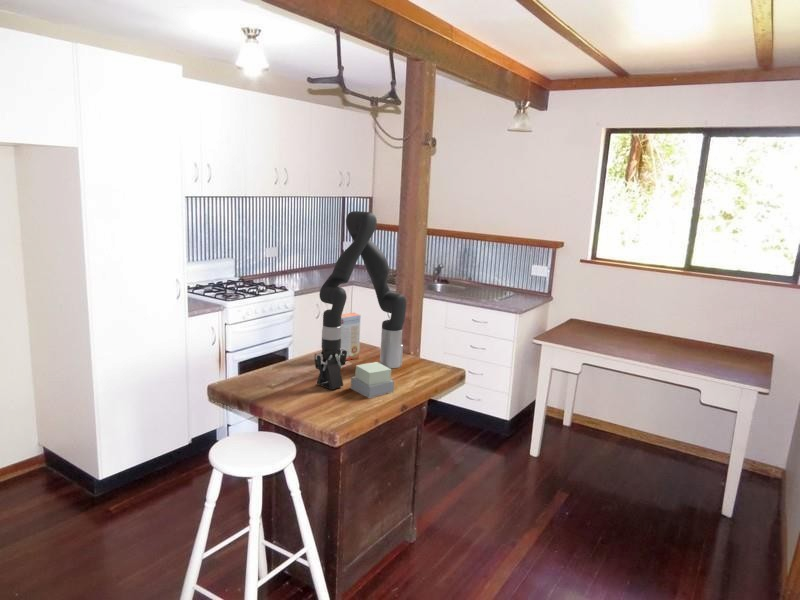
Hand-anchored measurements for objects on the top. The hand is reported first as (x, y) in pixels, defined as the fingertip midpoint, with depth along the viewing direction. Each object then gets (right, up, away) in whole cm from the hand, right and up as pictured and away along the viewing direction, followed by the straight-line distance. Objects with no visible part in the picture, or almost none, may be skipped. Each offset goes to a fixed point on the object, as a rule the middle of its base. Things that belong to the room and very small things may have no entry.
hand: (330, 377), depth 219 cm
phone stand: (0, -3, +1) cm, 3 cm away
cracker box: (+1, +3, +36) cm, 36 cm away
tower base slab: (+17, -5, 0) cm, 17 cm away
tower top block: (+17, -1, -1) cm, 17 cm away
